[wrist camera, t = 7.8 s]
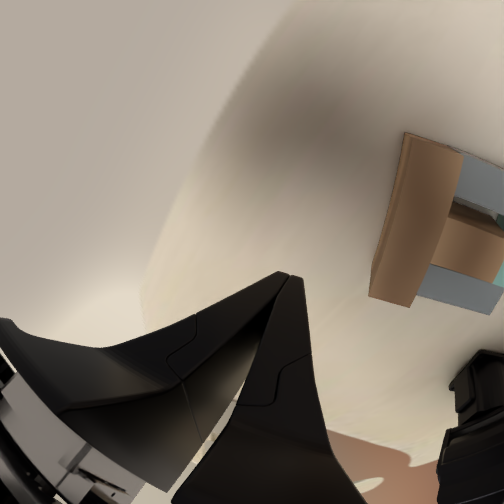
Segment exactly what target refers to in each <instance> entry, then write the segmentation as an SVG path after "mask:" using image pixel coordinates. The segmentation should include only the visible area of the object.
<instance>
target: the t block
mask: <svg viewBox="0 0 504 504" xmlns="http://www.w3.org/2000/svg"><path fill="white" fill-rule="evenodd" d="M463 159H464V156H463V155H461V154H460V153H458V152H456V151H455V150H453V149H451V148H449V147H448V146H446V145H443V144H440V143H437V142H434V141H431V140H428V139H425V138H422V137H419V136H416V135H412V134H409V133H406V132H405V133H404V139H403V145H402V150H401V156H400V161H399V166H398V170H397V175H396V179H395V184H394V188H393V192H392V196H391V200H390V204H389V208H388V212H387V216H386V219H385V223H384V227H383V230H382V234H381V237H380V240H379V244H378V247H377V250H376V253H375V256H374V259H373V263H372V268H371V278H370V286H369V294H368V296H369V297H373V298H376V299H380V300H383V301H387V302H390V303H394V304H397V305H401V306H404V307H408V308H410V306H411V304H412V302H413V300H414V298H415V296H416V294H417V292H418V289H419V287H420V285H421V283H422V281H423V279H424V276H425V274H426V272H427V269H428V267H429V265H430V263H431V264H434V265H437V266H440V267H443V268H447V269H450V270H453V271H456V272H459V273H462V274H465V275H468V276H471V277H474V278H477V279H480V280H483V281H486V282H489V283H493V281H494V279H495V277H496V275H497V273H498V271H499V269H500V267H501V265H502V263H503V261H504V231H503V230H502V229H501V227H500V226H499V225H498V224H497V222H496V221H495V220H494V219H493V218H492V217H491V216H489V215H487V214H484V213H482V212H479V211H477V210H474V209H472V208H469V207H467V206H464V205H461V204H459V203H456V202H453V198H454V194H455V191H456V187H457V183H458V180H459V176H460V172H461V168H462V163H463Z"/></svg>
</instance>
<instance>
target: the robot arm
mask: <svg viewBox="0 0 504 504" xmlns="http://www.w3.org/2000/svg"><path fill="white" fill-rule="evenodd" d="M0 348H1V349H2V350H3V352H4V354H5V355H6V356H7V358H8V359H9V361H10V362H11V363H12V365H13V366H14V368H16V370H17V372H16V373H15V372H14V371H13V370H12V368H11V367H10V366H9V365H8V363H7V362H6V360H5V359H4V358H3V356H2V355H1V354H0V504H62V503H61V502H59V501H58V500H56V499H55V498H53V497H54V496H55V495H56V494H58V495H59V496H60V497H61V498H62V499H63V500H64V501H65V502H66V503H67V504H130V503H131V502H132V501H133V499H134V498H135V497H136V495H137V494H138V493H139V491H140V490H141V488H142V487H143V486H144V484H145V483H146V482H147V483H149V484H151V485H153V486H155V487H156V488H158V489H160V490H162V491H164V492H166V493H167V492H168V491H169V490H170V488H171V487H172V485H173V484H174V483H175V482H176V480H177V479H178V478H179V476H180V475H181V474H182V472H183V471H184V470H185V468H186V467H187V465H188V464H189V463H190V461H191V460H192V459H193V457H194V456H195V454H196V453H197V452H198V450H199V449H200V447H201V446H202V443H204V442H205V440H206V439H207V437H208V436H209V434H210V433H211V431H212V430H213V428H214V427H215V425H216V424H217V422H218V421H219V419H220V418H221V416H222V415H223V413H224V412H225V410H226V409H227V407H228V406H229V404H230V403H231V401H232V400H233V398H234V397H235V395H236V393H237V392H238V390H239V389H240V387H241V386H242V384H243V382H244V381H245V383H244V385H243V388H242V390H241V393H240V395H239V398H238V400H237V403H236V406H235V408H234V410H233V413H232V415H231V417H230V419H229V421H228V423H227V424H226V426H225V427H224V429H223V430H222V432H221V433H220V435H219V436H218V437H217V439H216V440H215V441H214V443H213V444H212V446H211V447H210V448H209V450H208V451H207V452H206V454H205V455H204V456H203V458H202V459H201V460H200V462H199V463H198V464H197V466H196V467H195V468H194V470H193V471H192V472H191V474H190V475H189V476H188V477H187V479H186V480H185V481H184V482H183V484H182V485H181V486H180V487H179V489H178V490H177V491H176V493H175V494H174V496H173V498H172V500H171V503H172V504H368V503H367V502H366V501H365V499H364V498H363V497H362V495H361V494H360V492H359V491H358V489H357V488H356V487H355V485H354V484H353V482H352V481H351V479H350V478H349V476H348V475H347V474H346V472H345V471H344V469H343V468H342V466H341V465H340V463H339V462H338V460H337V459H336V457H335V455H334V453H333V450H332V448H331V445H330V442H329V438H328V435H327V430H326V426H325V422H324V418H323V414H322V410H321V405H320V401H319V397H318V393H317V388H316V383H315V377H314V369H313V360H312V355H311V354H312V351H311V341H310V331H309V322H308V313H307V305H306V297H305V289H304V281H303V278H301V277H298V276H294V275H289V274H287V273H284V272H280V271H277V272H275V273H273V274H271V275H269V276H267V277H265V278H263V279H261V280H260V281H258V282H256V283H254V284H252V285H250V286H248V287H246V288H244V289H242V290H240V291H238V292H237V293H235V294H233V295H231V296H229V297H227V298H225V299H223V300H221V301H219V302H217V303H215V304H213V305H211V306H209V307H207V308H205V309H203V310H201V311H199V312H197V313H196V314H193V315H191V316H189V317H187V318H185V319H183V320H181V321H178V322H176V323H174V324H172V325H170V326H167V327H165V328H162V329H159V330H157V331H154V332H152V333H149V334H146V335H144V336H140V337H138V338H135V339H132V340H129V341H126V342H124V343H121V344H117V345H114V346H110V347H103V348H93V347H87V346H81V345H75V344H70V343H65V342H59V341H54V340H50V339H45V338H41V337H37V336H33V335H30V334H28V333H25V332H24V331H22V330H20V329H19V328H18V327H17V326H16V325H15V324H14V322H13V321H12V320H11V319H7V318H0ZM245 379H246V380H245ZM449 390H450V391H455V411H456V413H458V426H457V427H455V428H450V429H447V430H446V433H445V437H444V440H443V444H442V448H441V452H440V456H439V460H438V464H437V469H436V473H437V475H438V481H439V484H440V486H439V491H438V496H437V502H438V504H504V355H503V354H498V353H493V352H489V351H484V350H481V351H479V352H478V353H477V354H476V355H475V356H474V357H473V359H472V360H471V361H470V362H469V364H468V365H467V366H466V367H465V368H464V369H463V371H462V372H461V373H460V374H459V375H458V376H457V377H456V379H455V380H454V381H453V382H452V383H451V384H450V385H449Z"/></svg>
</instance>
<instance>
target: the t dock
mask: <svg viewBox="0 0 504 504" xmlns="http://www.w3.org/2000/svg"><path fill="white" fill-rule="evenodd" d="M447 146H448V145H447ZM448 147H449V148H451V149H453V150H455V151H456V152H458V153H460V154H461V155H463V156H464V159H463V163H462V168H461V172H460V176H459V180H458V183H457V187H456V191H455V194H454V196H456V197H459V198H461V199H464V200H467V201H469V202H472V203H475V204H477V205H480V206H482V207H484V208H487V209H489V210H492V211H494V212H496V213H499V215H498V218H497V221H496V222H497V224H498V225H499V226H500V227H501V229H502V230H503V231H504V169H502V168H500V167H498V166H496V165H494V164H492V163H490V162H487V161H485V160H483V159H481V158H478V157H476V156H474V155H471V154H469V153H466V152H464V151H461V150H459V149H456V148H453V147H451V146H448ZM503 292H504V261H503V263H502V265H501V267H500V269H499V271H498V273H497V275H496V277H495V279H494V281H493V283H489V282H486V281H483V280H480V279H477V278H474V277H471V276H468V275H465V274H462V273H459V272H456V271H453V270H450V269H447V268H443V267H440V266H437V265H434V264H431V263H430V265H429V267H428V269H427V272H426V274H425V276H424V279H423V281H422V283H421V285H420V287H419V289H418V292H417V294H416V295H418V296H422V297H425V298H429V299H433V300H436V301H440V302H443V303H447V304H451V305H454V306H458V307H461V308H465V309H468V310H472V311H476V312H479V313H483V314H486V315H490V314H491V312H492V310H493V309H494V307H495V306H496V304H497V302H498V301H499V299H500V297H501V295H502V294H503Z"/></svg>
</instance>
